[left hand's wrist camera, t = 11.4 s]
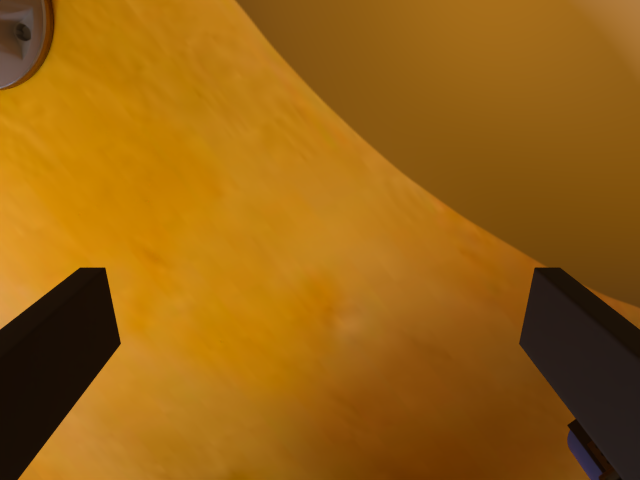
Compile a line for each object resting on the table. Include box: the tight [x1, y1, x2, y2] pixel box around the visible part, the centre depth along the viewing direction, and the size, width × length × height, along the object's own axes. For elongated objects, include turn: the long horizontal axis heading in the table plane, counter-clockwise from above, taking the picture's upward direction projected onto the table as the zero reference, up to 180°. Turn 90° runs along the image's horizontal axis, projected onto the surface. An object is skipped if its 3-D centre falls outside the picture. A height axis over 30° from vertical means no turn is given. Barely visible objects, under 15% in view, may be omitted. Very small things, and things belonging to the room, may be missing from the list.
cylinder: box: [567, 430, 603, 480], centre depth 40 cm, size 7×7×7 cm
